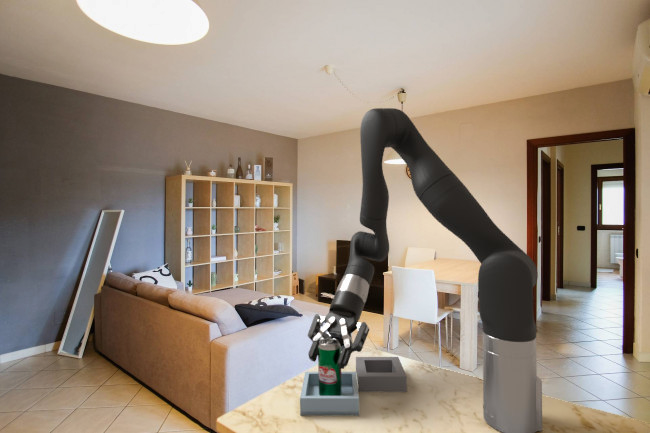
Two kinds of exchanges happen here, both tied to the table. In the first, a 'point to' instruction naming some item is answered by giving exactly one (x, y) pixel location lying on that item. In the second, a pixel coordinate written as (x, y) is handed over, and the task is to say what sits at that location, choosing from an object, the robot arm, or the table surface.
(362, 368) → the socket block
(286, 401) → the table surface
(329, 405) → the parts tray
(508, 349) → the robot arm
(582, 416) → the table surface
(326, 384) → the soda can
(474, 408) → the table surface
